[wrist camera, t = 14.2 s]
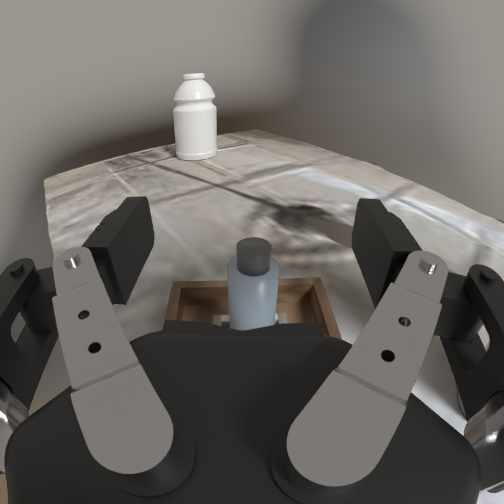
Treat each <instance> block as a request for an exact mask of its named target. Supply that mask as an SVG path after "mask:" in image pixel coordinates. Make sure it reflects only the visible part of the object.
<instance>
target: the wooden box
mask: <svg viewBox="0 0 504 504" xmlns="http://www.w3.org/2000/svg"><path fill="white" fill-rule="evenodd" d="M165 320H182V321H202V322H206V323H210V324H215V325H219V326H223V327H227V328H230V318H229V297H228V281H189V282H173V284H172V288H171V293H170V298H169V303H168V308H167V313H166V318H165ZM281 323H321V325H322V330H323V334H324V335H329V336H332V337H336V338H339V339H341V340H342V338H341V335H340V332H339V329H338V326H337V323H336V320H335V317H334V315H333V312H332V309H331V306H330V303H329V300H328V298H327V295H326V292H325V289H324V287H323V284H322V281H321V278H296V279H279V280H278V291H277V302H276V313H275V324H274V325H276V324H281Z"/></svg>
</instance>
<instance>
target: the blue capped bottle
mask: <svg viewBox="0 0 504 504" xmlns="http://www.w3.org/2000/svg"><path fill="white" fill-rule="evenodd" d="M227 272H228V297H229V318H230V328H231V329H236V330H250V329H255V328H261V327H266V326H271V325H274V324H275V313H276V302H277V291H278V280H279V264H278V262H277V261H276V260H275V259H274V258H273V257H271V245H270V243H269V242H268V241H266V240H264V239H261V238H255V237H252V238H246V239H243V240H241V241H239V242H238V243H237V255H236V256H234V257H233V258H232V259H231V260H230V261H229V262H228V265H227Z"/></svg>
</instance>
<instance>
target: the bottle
mask: <svg viewBox="0 0 504 504" xmlns="http://www.w3.org/2000/svg"><path fill="white" fill-rule="evenodd" d="M203 78H205V75H204V73H195V74H184V76H183V79H184V80H185V82H183V83H182V84H181V85H180V87H179V88H178V90H177V91H176V94H175V97H174V101H176V103H177V106H176V107H175V108H174V110H173V113H174V127H175V139H176V141H175V142H176V155H177V158H179V159H182V160H191V161H192V160H203V159H208V158H211V157H213V156H215V155H216V154H217V149H218V148H217V124H216V110H217V108H216V106H215V105H214V104H213V103H212V100H213V99H214V98H215V94H214V92H213V90H212V88H211V87H210V86H209V84H208V83H207V82H205V81H204V80H203Z"/></svg>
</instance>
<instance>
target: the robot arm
mask: <svg viewBox="0 0 504 504" xmlns="http://www.w3.org/2000/svg"><path fill="white" fill-rule="evenodd" d="M153 245H154V230H153V224H152V219H151V213H150V207H149V202H148V199H147V197H145V196H142V197H127V198H126V199H125V200H124V201H123V203H122V204H121V205H120V206H119V207H118V209H117V210H114V211H113V212H111V213H110V214H108V215H107V216H105V218H104V219H103V220H102V221H101V222H100V225H98V226H97V227H96V229H95V231H93V232H92V234H91V235H90V236H89V238H88V239H87V240H86V241H85V243H84V244H83V245H82V247H75V248H71V249H68V250H66V251H64V252H63V253H61V254H60V255H59V256H57V257H56V259H55V260H54V262H53V267H51V268H46V269H41V270H37V269H36V267H35V264H34V262H33V260H32V259H29V258H25V259H20V260H17V261H15V262H13V263H12V264H10V265H9V266H8V267H7V268H6V269H5V270H4V272H3V273H2V274H1V275H0V474H4V473H5V474H6V480H7V489H8V504H476V503H477V499H478V496H479V494H480V493H482V492H485V491H488V492H490V493H497V492H500V491H502V490H504V281H503V280H502V279H501V277H500V276H499V275H498V274H497V273H496V272H495V271H494V270H492V269H491V268H489V267H487V266H484V265H479V264H477V265H473V266H471V267H470V269H469V272H468V274H467V276H463V275H458V274H454V273H450V272H448V266H447V264H446V263H445V262H444V261H443V260H442V259H441V258H440V257H439V256H437V255H435V254H433V253H430V252H427V251H422V249H421V248H420V246H419V245H418V243H417V242H416V240H415V239H414V237H413V236H412V235H411V233H410V232H409V230H408V229H407V228H406V226H405V225H404V223H403V222H402V220H401V219H400V218H398V217H397V216H395V215H394V214H393V213H391V212H388V211H387V209H386V208H385V207H384V205H383V204H382V202H381V201H380V200H379V199H364V198H360V199H359V201H358V204H357V210H356V216H355V221H354V227H353V232H352V249H353V252H354V254H355V257H356V259H357V262H358V264H359V267H360V269H361V272H362V275H363V277H364V280H365V282H366V285H367V288H368V290H369V293H370V296H371V299H372V301H373V304H374V307H375V311H374V313H373V314H372V316H371V317H370V319H369V321H368V322H367V324H366V326H365V327H364V329H363V330H362V332H361V333H360V335H359V337H358V338H357V340H356V341H355V343H354V344H353V345H352V344H350V343H348V342H346V341H344V340H341V339H339V338H336V337H332V336H329V335H324V334H323V330H322V325H321V323H281V324H276V325H271V326H266V327H261V328H255V329H250V330H236V329H231V328H227V327H223V326H219V325H215V324H210V323H206V322H202V321H182V320H165V323H164V327H163V330H162V331H158V332H154V333H150V334H147V335H144V336H141V337H139V338H137V339H134V340H133V341H131V342H129V341H128V339H127V337H126V335H125V332H124V330H123V328H122V326H121V324H120V322H119V319H118V317H117V315H116V313H115V310H114V308H113V304H124V305H126V303H127V301H128V299H129V297H130V294H131V292H132V290H133V288H134V286H135V284H136V281H137V279H138V277H139V275H140V273H141V271H142V269H143V266H144V264H145V262H146V260H147V258H148V256H149V254H150V252H151V250H152V248H153ZM19 312H20V314H21V316H22V317H23V319H24V321H25V322H26V324H25V326H24V328H23V330H22V332H21V334H20V336H19V338H18V339H17V342H16V343H15V342H14V341H13V339H12V337H11V325H12V323H13V321H14V320H15V318H16V316H17V314H18V313H19ZM483 324H484V326H485V328H486V330H487V332H488V334H489V338H490V341H489V343H488V344H487V346H486V347H485V348H484V346H483V343H482V341H481V339H480V337H479V335H478V332H479V330H480V328H481V327H482V325H483ZM433 335H437V336H440V339H441V341H442V344H443V347H444V349H445V352H446V355H447V358H448V361H449V363H450V366H451V369H452V372H453V375H454V378H455V381H456V384H457V388H458V400H459V404H460V407H461V410H462V412H463V413H464V415H465V416H466V419H467V424H466V426H465V430H464V436H463V435H462V434H460V433H459V432H458V431H457V430H456V429H454V428H453V427H452V426H451V425H450V424H448V423H447V422H446V421H445V420H444V419H442V418H441V417H440V416H439V415H438V414H436V413H435V412H434V411H433V410H432V409H430V408H429V407H428V406H427V405H426V404H424V403H423V402H422V401H421V400H420V399H418V398H417V397H416V396H415V395H414V394H412V393H411V390H412V388H413V386H414V383H415V381H416V379H417V376H418V374H419V371H420V369H421V366H422V364H423V361H424V358H425V356H426V353H427V350H428V348H429V345H430V342H431V339H432V336H433ZM58 336H59V338H60V343H61V347H62V351H63V355H64V360H65V363H66V367H67V371H68V375H69V378H70V382H71V386H69V387H68V388H67V389H65V390H64V391H63V392H61V393H60V394H59V395H57V396H56V397H55V398H53V399H52V400H51V401H49V402H48V403H47V404H45V405H44V406H43V407H41V408H40V409H39V410H37V411H36V412H35V413H33V414H32V415H31V416H29V413H28V411H29V408H30V405H31V403H32V400H33V397H34V394H35V392H36V389H37V386H38V383H39V381H40V379H41V376H42V373H43V371H44V368H45V366H46V364H47V361H48V359H49V357H50V354H51V352H52V350H53V347H54V345H55V343H56V341H57V338H58Z"/></svg>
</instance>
